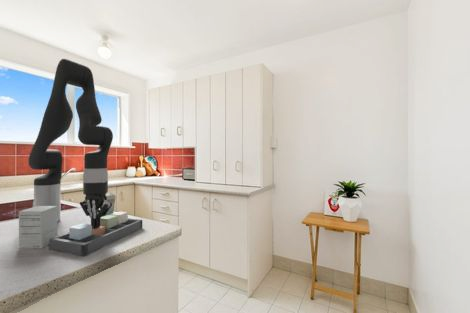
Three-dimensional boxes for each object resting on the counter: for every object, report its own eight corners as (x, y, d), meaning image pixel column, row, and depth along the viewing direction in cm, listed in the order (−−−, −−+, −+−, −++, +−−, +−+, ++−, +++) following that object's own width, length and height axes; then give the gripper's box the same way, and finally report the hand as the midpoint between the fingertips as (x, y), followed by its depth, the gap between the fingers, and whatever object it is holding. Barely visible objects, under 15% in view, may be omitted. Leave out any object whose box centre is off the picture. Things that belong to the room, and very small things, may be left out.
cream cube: (110, 222, 87) (110, 214, 87) (119, 219, 91) (119, 211, 91) (119, 224, 85) (119, 215, 85) (127, 220, 90) (127, 212, 90)
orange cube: (84, 239, 76) (85, 229, 76) (96, 234, 80) (96, 225, 80) (94, 240, 75) (94, 230, 75) (105, 236, 79) (105, 226, 79)
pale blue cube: (69, 238, 71) (69, 227, 71) (82, 233, 75) (82, 223, 75) (79, 239, 70) (79, 229, 69) (91, 235, 74) (91, 224, 74)
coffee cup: (106, 222, 97) (106, 196, 97) (90, 221, 99) (90, 195, 99) (120, 217, 106) (120, 193, 105) (105, 216, 107) (105, 192, 107)
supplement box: (36, 240, 77) (36, 205, 77) (58, 239, 78) (58, 205, 78) (17, 249, 70) (17, 211, 70) (41, 248, 70) (41, 211, 70)
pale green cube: (98, 227, 81) (98, 218, 81) (108, 223, 86) (108, 214, 86) (107, 228, 80) (107, 219, 80) (117, 224, 84) (117, 215, 84)
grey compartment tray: (49, 249, 70) (49, 238, 70) (114, 224, 95) (114, 216, 95) (84, 256, 66) (84, 244, 66) (142, 228, 91) (142, 220, 91)
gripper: (71, 181, 75) (71, 229, 76) (101, 182, 72) (100, 233, 72) (91, 178, 83) (91, 222, 83) (118, 180, 79) (118, 226, 79)
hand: (95, 227), depth 78 cm, fingers closed
